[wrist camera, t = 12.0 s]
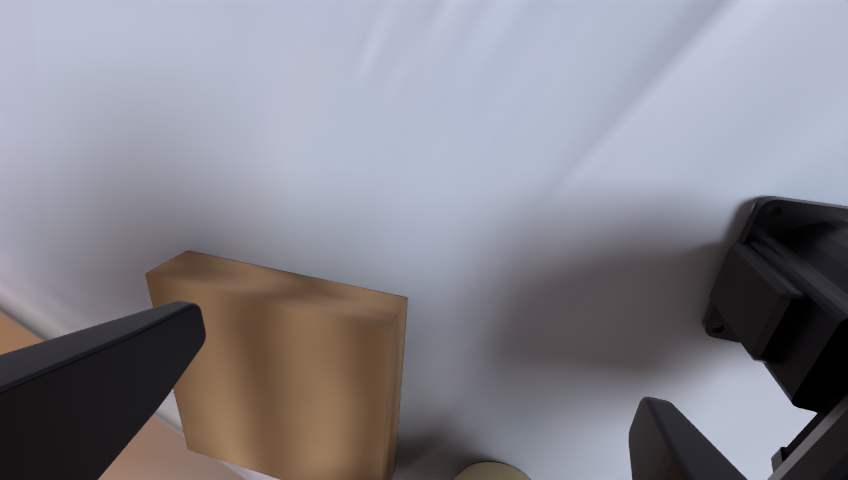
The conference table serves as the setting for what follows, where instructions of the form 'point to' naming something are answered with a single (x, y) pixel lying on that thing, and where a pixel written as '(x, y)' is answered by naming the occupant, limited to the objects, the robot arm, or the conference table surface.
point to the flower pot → (491, 472)
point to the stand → (288, 370)
